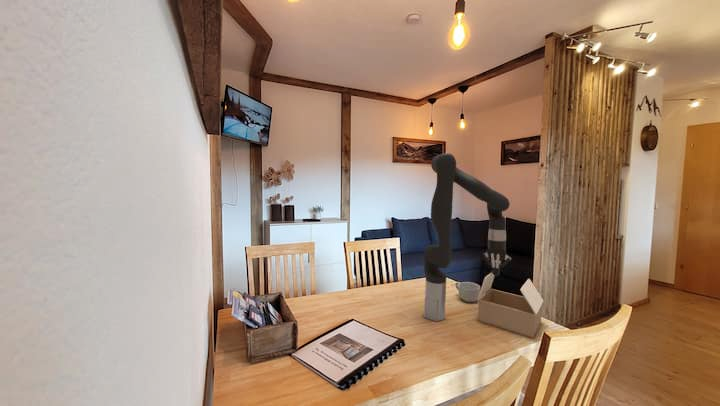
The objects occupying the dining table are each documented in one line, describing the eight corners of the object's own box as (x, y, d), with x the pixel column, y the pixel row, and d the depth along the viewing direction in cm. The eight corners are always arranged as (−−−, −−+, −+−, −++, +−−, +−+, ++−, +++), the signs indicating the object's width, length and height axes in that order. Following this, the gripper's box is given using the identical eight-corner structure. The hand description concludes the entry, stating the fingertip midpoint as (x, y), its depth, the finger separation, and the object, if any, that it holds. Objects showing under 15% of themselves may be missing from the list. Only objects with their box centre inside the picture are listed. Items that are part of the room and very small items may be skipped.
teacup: (484, 302, 152) (484, 287, 152) (467, 305, 148) (468, 290, 148) (465, 292, 165) (465, 278, 164) (449, 295, 161) (450, 281, 160)
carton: (533, 339, 118) (535, 315, 117) (477, 321, 132) (478, 299, 131) (540, 322, 132) (542, 301, 131) (489, 308, 146) (490, 288, 145)
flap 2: (535, 314, 117) (536, 314, 117) (519, 289, 120) (521, 289, 120) (542, 301, 130) (543, 300, 130) (528, 278, 134) (529, 278, 133)
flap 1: (485, 278, 129) (484, 277, 129) (478, 299, 131) (477, 298, 132) (496, 269, 142) (495, 268, 142) (490, 288, 145) (489, 288, 145)
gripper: (479, 238, 136) (478, 274, 138) (510, 241, 128) (509, 280, 129) (484, 235, 142) (483, 270, 143) (514, 239, 133) (513, 276, 135)
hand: (495, 275), depth 136 cm, fingers closed
